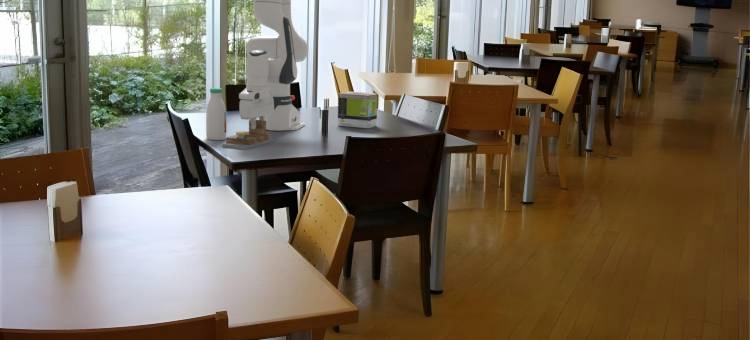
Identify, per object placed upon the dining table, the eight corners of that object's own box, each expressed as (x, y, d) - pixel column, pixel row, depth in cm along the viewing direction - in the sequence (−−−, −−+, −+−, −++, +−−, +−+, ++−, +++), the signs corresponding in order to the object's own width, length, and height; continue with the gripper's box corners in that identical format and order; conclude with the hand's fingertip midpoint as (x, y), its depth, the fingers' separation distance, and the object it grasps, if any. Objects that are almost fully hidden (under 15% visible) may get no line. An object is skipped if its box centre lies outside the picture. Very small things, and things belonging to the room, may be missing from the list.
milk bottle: (222, 141, 333) (221, 90, 329) (203, 139, 334) (202, 88, 330) (229, 138, 340) (229, 87, 336) (210, 136, 342) (210, 86, 337)
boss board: (250, 138, 340) (250, 125, 339) (272, 141, 336) (272, 127, 335) (222, 146, 322) (222, 132, 321) (245, 149, 318) (245, 135, 317)
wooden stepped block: (248, 136, 338) (248, 118, 337) (270, 139, 334) (270, 121, 333) (226, 142, 324) (225, 124, 322) (248, 145, 320) (248, 126, 319)
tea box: (377, 126, 381) (378, 93, 378) (367, 129, 372) (368, 95, 369) (347, 122, 387) (347, 90, 384) (336, 125, 378) (337, 92, 375)
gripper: (264, 89, 342) (264, 123, 345) (236, 94, 323) (236, 130, 326) (278, 90, 339) (277, 125, 342) (250, 96, 321) (250, 132, 324)
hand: (257, 128), depth 334 cm, fingers closed on wooden stepped block, 3 cm apart
